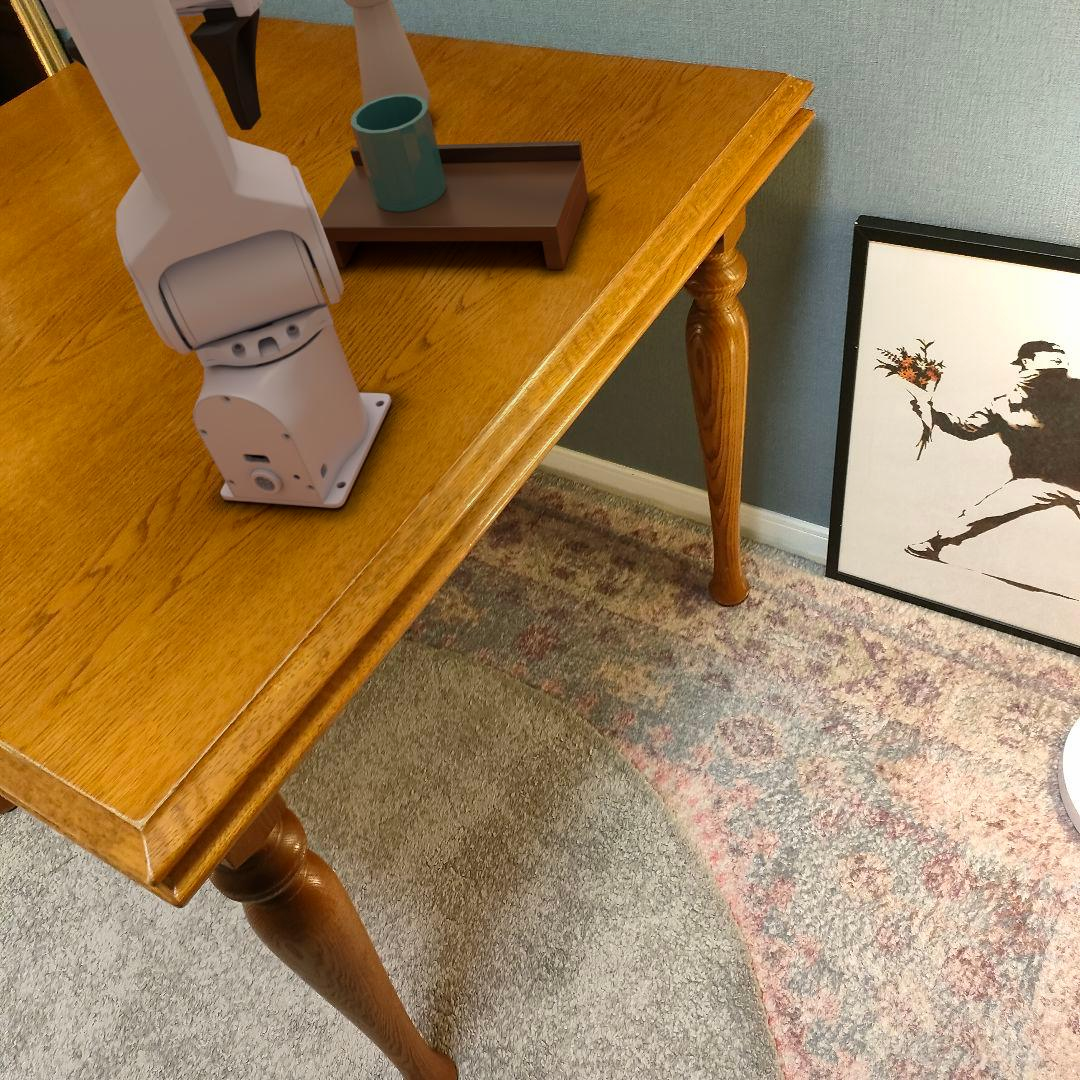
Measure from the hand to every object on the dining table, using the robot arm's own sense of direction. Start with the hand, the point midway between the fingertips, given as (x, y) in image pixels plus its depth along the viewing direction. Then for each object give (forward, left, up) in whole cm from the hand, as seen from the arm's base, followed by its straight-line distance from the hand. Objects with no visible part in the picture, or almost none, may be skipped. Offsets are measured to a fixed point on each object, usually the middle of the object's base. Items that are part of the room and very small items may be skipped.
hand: (203, 124), depth 70 cm
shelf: (+2, -16, -10) cm, 19 cm away
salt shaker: (+19, -6, -11) cm, 23 cm away
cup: (+2, -13, -7) cm, 15 cm away
